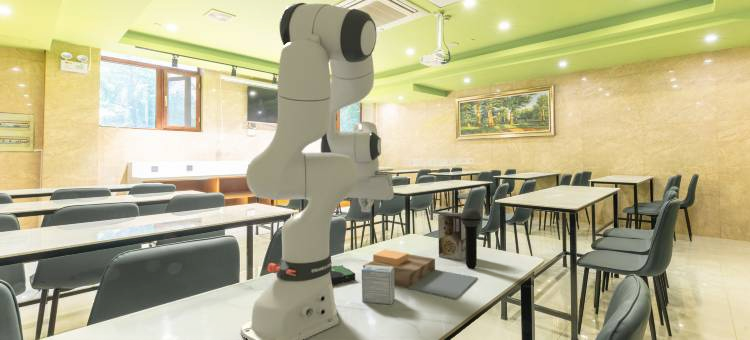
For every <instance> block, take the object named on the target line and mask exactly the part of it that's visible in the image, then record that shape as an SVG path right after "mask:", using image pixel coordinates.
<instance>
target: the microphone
mask: <svg viewBox="0 0 750 340" xmlns="http://www.w3.org/2000/svg"><path fill="white" fill-rule="evenodd" d="M461 213H462V215H461V221H462V223H463V224H464V225H465V229H466V230H465V258H464V259H465V265H466V267H467V269H469V270H473V269H475V268H476V266H477V260H478V258H477V257H478V255H477V253H478V252H477V250H478V249H477V247H478V246H477V241H478V240H477V238H478V234H477V230H478V226H479V225H480V223H481V221H482V216H481V214H480V212H479V211H478V210H477V209H475V208H467V209H465V210H463V212H461Z"/></svg>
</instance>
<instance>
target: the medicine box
mask: <svg viewBox="0 0 750 340" xmlns="http://www.w3.org/2000/svg"><path fill="white" fill-rule="evenodd" d="M395 289H396V288H395V285H394V267H390V266H376V265H366V266H365V267H364V268H363V267H362V270H361V297H362V298H361V299H362V300H361V301H362V302H363V303H374V304H382V305H392V304H393V302H394V300H395V297H396V295H395V294H396V292H395V291H396V290H395Z"/></svg>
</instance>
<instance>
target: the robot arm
mask: <svg viewBox="0 0 750 340" xmlns="http://www.w3.org/2000/svg"><path fill="white" fill-rule="evenodd" d="M278 25H279V35H280V39H281V42H282V45H283V47H282V49H281V51H280V57H279V64H278V72H277V75H278V76H277V123H276V130H275V133H274V136H273V138H272V140H271V141H270V143H269V144H268V146H267V147H266V148H265V149H264V150H263V151H262V152H261V153H260V154H258V155H257V156H255V157H254V158H253V159H252V160H251V161H250V162H249V165H248V166H247V169H246V173H245V176H246V177H245V178H246V179H245V180H246V184H247V187H248V189H249V190H250V193H252V194H253V196H255V198H259V199H266V200H272V201H287V200H290V201H291V200H307V201H308V203H307V205H306V207H305V208H304V209H303V210H301V211H300V212H298V213H296V214H294V215H292V216H291V217H289V218H288V219H287V220H286V221H285V222H284V223H283V224H282V228H281V255H282V256H281V258H280V261H279V263H274V262H270V263H268V266H267V271H268V272H269V273H273V274H276V277H275V278H274V279H273V280H272V281H271V283H270V284H269V285H268V286H267V288H266V289H265V290H264V291H263V292H262V293H261V294H260V295H259V297H257V299H256V300H255V301H254V302H253V303H254V304H253V307H252V314H251V320H249V321H247V322H246V323H244V324H243V325H241V327H240V334H241V333H242V334H241V336H242V335H243V336H244V337H246V338H247V339H249V340H303V339H304V340H306V339H308V338H310V337H312V336H314V335H317V334H319V333H321V332H324V331H325V330H328V329H330V328H332V327H334V326H337V325H338V324H339V323H340V320H339V316H338V308H337V305H336V301H335V294H334V288H333V287H334V285H332V281H331V276H330V271H331V269H332V267H333V266H332V255H331V253H330V231H331V223H332V219H333V216H334V214H335V212H336V209H337V208H338V206H339V205H340V204H341V202H342V201H344V199H345V198H350V199H358V200H357V201H358V203H359V206H360V207H361V213H362V212H363V213H371V212H372V207H373V205H374V203H375V201H376V200H378V201H390V200H392V199H394V197H395V196H394V195H395V193H394V192H395V191H394V186H393V175H392V174H391V173H390V172H389V171H386V170H385V171H380V167H379V166H380V165H379V164H380V163H379V162H380V161H379V158H378V157H380V156H381V155H382V151H381V149H382V145H381V144H382V143H381V142H382V139H381V137H379V135H378V129H377V125H376V124H375V123H373V122H369V121H359V122H356V123H355V124H354V125H353V130H352V131H349V130H348V131H341V130H338V129H337V128H336V127H337V113H338V112H339V111H340V110H342V109H344V108H347V107H348V106H351V105H353V104H357V103H359V102H361V101H363V100H364V99H365V98H366V97H367V96H368V95H369V94H370V93H371V91H372V89H373V87H374V79H375V74H374V73H375V71H374V59H373V52H374V50H375V47H376V42H377V27H376V23H375V21H374V19H373V18H372V16H371V15H370V14H369V13H368V12H365V11H363V10H361V9H357V8H347V7H341V6H336V5H332V4H328V3H305V2H298V3H293V4H290V5H288V6H286V8H285V9H284V11H283V12H282V14H281V17H280V20H279V24H278ZM330 73H331V74H330ZM320 139H321V140H320ZM319 140H320V152H304V151H303V150H305V148H306V147H308V146H309V145H311V144H312V143H315V142H317V141H319ZM365 201H366V202H367V205H366V203H365ZM243 336H242V337H243ZM244 337H243V338H244Z"/></svg>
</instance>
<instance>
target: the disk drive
mask: <svg viewBox="0 0 750 340" xmlns="http://www.w3.org/2000/svg"><path fill="white" fill-rule="evenodd" d="M331 267H332V269H331V271H330V276H331V281H332V286H335V285H336V286H337V285H341V284H345V283H350V282H354V281H356V273H355V272H353V270H351V269H349V268H347V267H345V266H344V265H343V264H342V265H332V266H331Z"/></svg>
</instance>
